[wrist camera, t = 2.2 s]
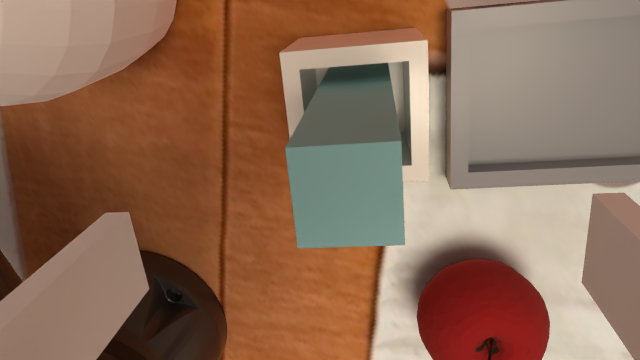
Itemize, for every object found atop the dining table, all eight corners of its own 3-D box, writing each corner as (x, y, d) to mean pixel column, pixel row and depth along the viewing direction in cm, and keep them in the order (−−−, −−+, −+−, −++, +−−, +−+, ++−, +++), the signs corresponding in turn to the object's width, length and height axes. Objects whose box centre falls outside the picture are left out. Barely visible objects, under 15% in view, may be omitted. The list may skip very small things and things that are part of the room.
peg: (334, 122, 35) (297, 248, 18) (329, 66, 33) (284, 147, 17) (390, 119, 34) (404, 244, 18) (387, 61, 33) (401, 141, 16)
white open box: (311, 146, 37) (295, 186, 29) (300, 37, 34) (279, 52, 26) (418, 140, 36) (429, 180, 28) (415, 27, 33) (427, 39, 25)
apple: (420, 336, 42) (433, 433, 33) (406, 246, 39) (416, 327, 30) (531, 325, 41) (576, 425, 32) (525, 231, 38) (574, 312, 28)
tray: (445, 176, 37) (450, 189, 34) (446, 9, 32) (451, 11, 30) (675, 165, 34) (696, 178, 32) (709, -15, 30) (737, -16, 28)
